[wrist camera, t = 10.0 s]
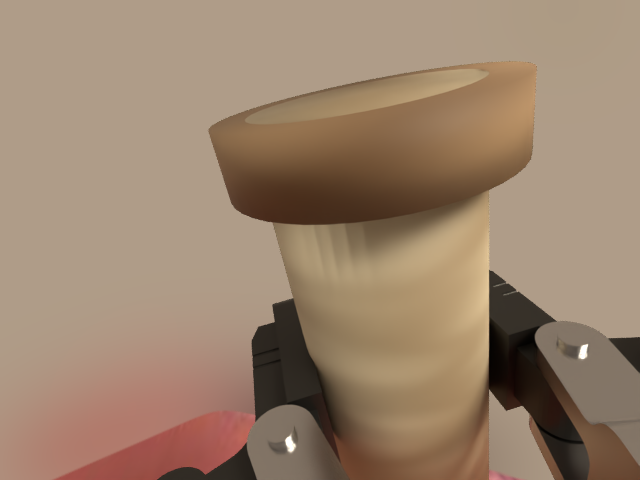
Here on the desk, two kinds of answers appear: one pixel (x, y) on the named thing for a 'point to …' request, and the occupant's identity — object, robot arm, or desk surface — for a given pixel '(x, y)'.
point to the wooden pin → (390, 250)
